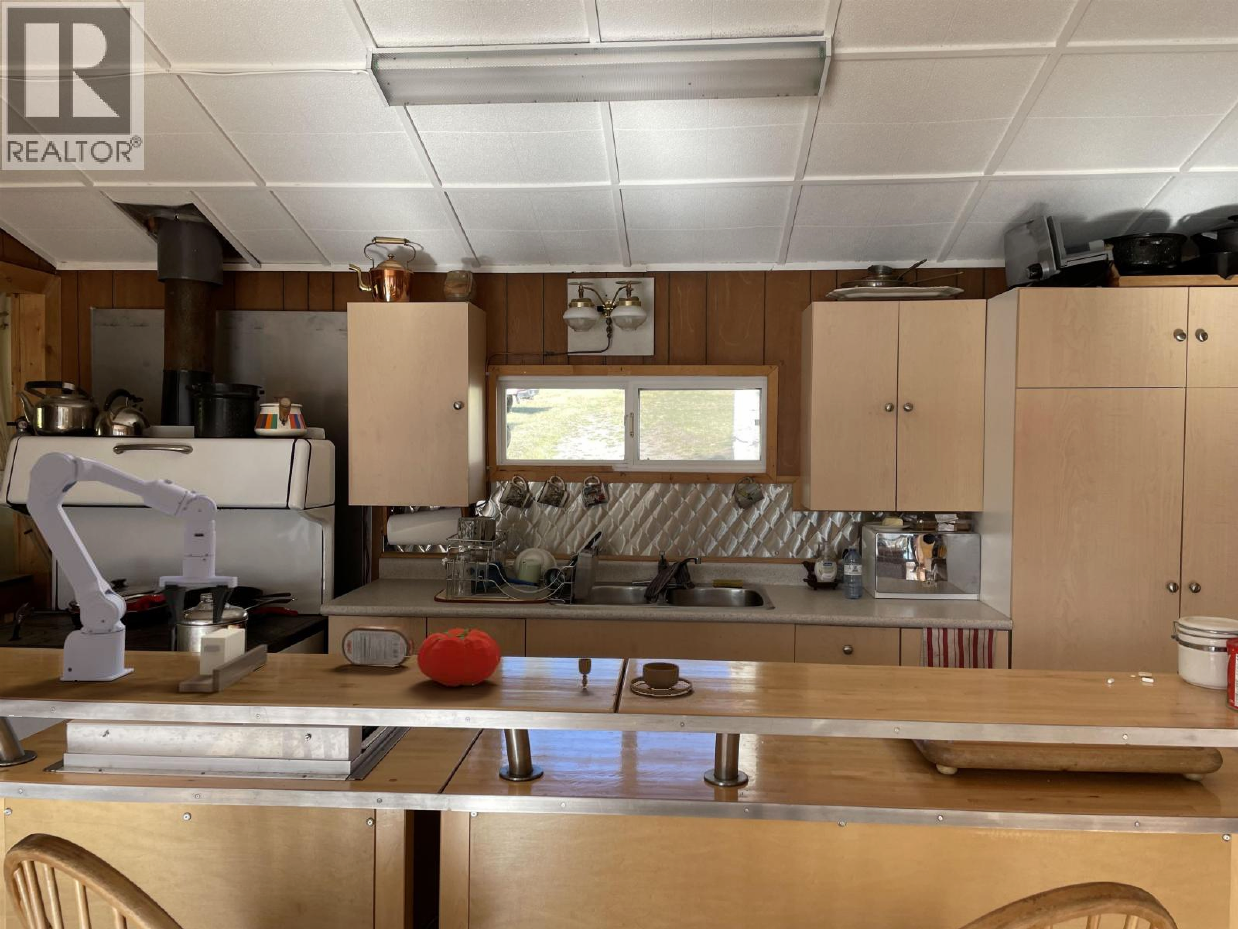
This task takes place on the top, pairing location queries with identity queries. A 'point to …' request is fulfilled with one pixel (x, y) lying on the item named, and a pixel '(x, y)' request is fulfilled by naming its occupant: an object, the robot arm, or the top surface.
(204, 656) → the cabinet block
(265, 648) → the ledge board
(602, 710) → the top surface
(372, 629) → the tin
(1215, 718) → the top surface
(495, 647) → the tomato
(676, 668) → the place setting
